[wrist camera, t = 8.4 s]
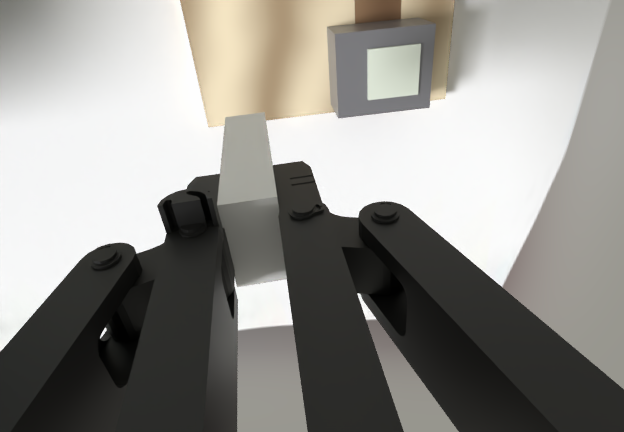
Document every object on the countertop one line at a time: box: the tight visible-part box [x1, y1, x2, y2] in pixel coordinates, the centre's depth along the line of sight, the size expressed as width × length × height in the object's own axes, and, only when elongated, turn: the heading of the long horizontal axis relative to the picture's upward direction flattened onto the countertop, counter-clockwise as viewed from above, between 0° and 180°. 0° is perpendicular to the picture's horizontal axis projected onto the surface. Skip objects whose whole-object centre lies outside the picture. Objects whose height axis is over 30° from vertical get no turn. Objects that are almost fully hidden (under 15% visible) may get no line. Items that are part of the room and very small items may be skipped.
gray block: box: [327, 17, 436, 118], centre depth 26 cm, size 6×5×3 cm
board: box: [180, 0, 455, 127], centre depth 26 cm, size 17×14×1 cm
